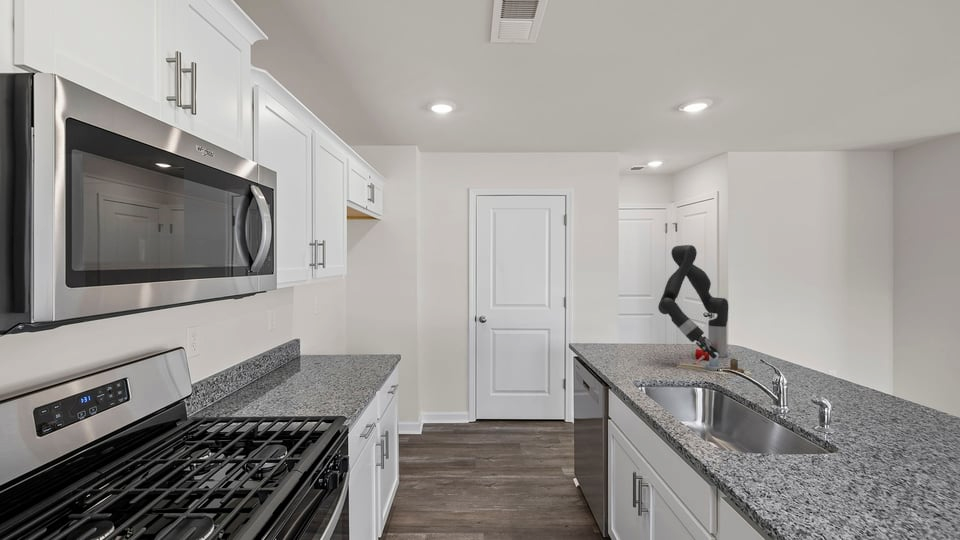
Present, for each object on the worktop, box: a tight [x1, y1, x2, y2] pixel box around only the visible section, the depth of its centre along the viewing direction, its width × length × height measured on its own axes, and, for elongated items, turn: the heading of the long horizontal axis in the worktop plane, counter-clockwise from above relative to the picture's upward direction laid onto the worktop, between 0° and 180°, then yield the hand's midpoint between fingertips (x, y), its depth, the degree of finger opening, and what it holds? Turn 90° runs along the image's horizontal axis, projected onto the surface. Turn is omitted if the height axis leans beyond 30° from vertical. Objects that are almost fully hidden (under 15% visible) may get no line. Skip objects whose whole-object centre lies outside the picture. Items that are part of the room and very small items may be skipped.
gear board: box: [674, 362, 751, 377], centre depth 214 cm, size 13×31×1 cm, turn 54°
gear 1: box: [704, 352, 723, 371], centre depth 213 cm, size 7×7×8 cm
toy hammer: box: [691, 347, 709, 365], centre depth 233 cm, size 23×12×6 cm, turn 138°
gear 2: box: [723, 357, 745, 373], centre depth 208 cm, size 8×8×7 cm
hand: (716, 356), depth 213 cm, fingers open, 8 cm apart
